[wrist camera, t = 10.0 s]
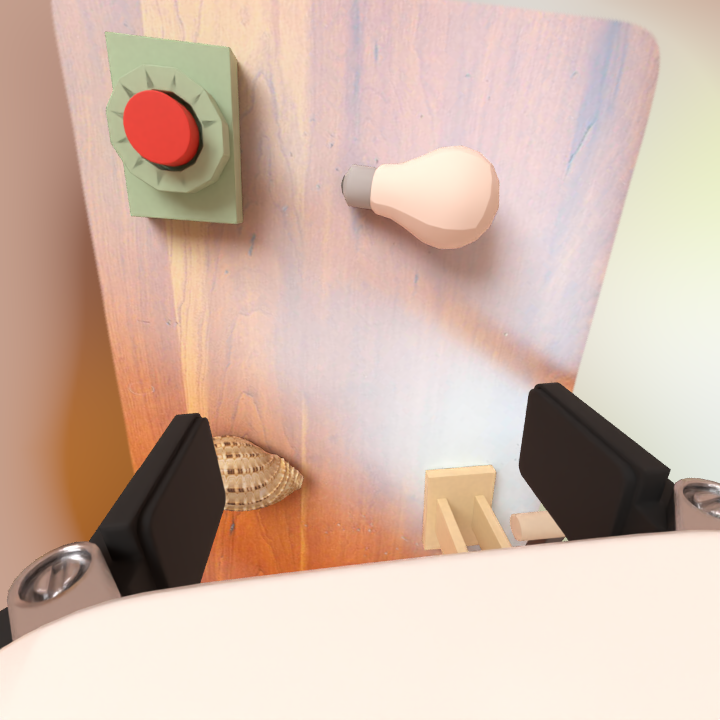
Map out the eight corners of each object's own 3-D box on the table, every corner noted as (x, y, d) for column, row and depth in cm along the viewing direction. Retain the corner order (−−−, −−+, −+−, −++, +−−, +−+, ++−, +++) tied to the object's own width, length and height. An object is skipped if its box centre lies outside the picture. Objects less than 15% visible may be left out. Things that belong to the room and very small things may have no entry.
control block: (122, 45, 24) (86, 17, 20) (237, 59, 25) (222, 34, 21) (144, 215, 28) (117, 217, 24) (243, 222, 28) (231, 225, 25)
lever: (510, 501, 22) (528, 543, 20) (592, 494, 23) (616, 534, 21) (461, 595, 33) (469, 628, 31) (517, 589, 33) (528, 622, 31)
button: (132, 94, 22) (117, 85, 20) (197, 101, 22) (187, 93, 21) (141, 163, 23) (127, 161, 22) (202, 169, 24) (193, 167, 22)
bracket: (425, 469, 39) (469, 585, 27) (491, 464, 40) (562, 576, 28) (421, 541, 43) (459, 669, 31) (482, 535, 43) (541, 659, 32)
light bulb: (322, 222, 24) (496, 250, 23) (339, 111, 23) (524, 134, 22) (343, 238, 31) (480, 261, 30) (357, 152, 30) (500, 171, 28)
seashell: (289, 413, 38) (180, 431, 33) (313, 447, 34) (191, 474, 29) (284, 475, 41) (183, 500, 36) (306, 514, 37) (194, 549, 31)
